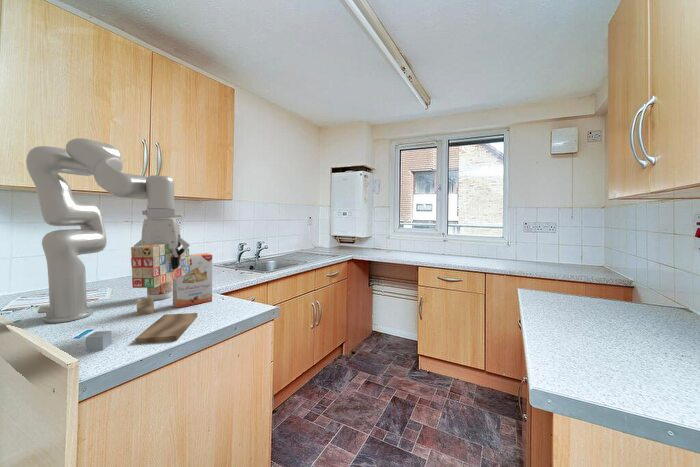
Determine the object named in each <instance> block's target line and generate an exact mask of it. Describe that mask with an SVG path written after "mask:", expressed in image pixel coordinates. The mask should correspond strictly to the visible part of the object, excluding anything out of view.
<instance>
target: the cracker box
mask: <svg viewBox="0 0 700 467" xmlns="http://www.w3.org/2000/svg"><path fill="white" fill-rule="evenodd" d="M189 257H190V273H188V274H185V275H183V276H181V277H178V278H176V279H173V280H172V306H174V307H175V308H176V309H178V308H185V307H189V306H194V305H199V304H205V303H210V302H212V301H213V254H211V253H207V252H206V253H193V254H190V253H189Z"/></svg>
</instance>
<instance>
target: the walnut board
mask: <svg viewBox="0 0 700 467" xmlns="http://www.w3.org/2000/svg"><path fill="white" fill-rule="evenodd" d="M197 318H198V312H189V313H170V314H168V313H167V314H163V315H162V316H161V317H159V318H158V319H157V320H156V321H155V322H154V323H153V322H152V324H151V325H150V326H148V327H147V328H146V329H144V330H143V332H141V333H140V334H139V335H138V336H136V337H135V338H134V340H135V344H147V343H160V342H177V341H178V340H179V339H180V338H181V336H182V335H183V334H184V333H185V332H186V331H187V330H188V328H189V327H190V326H191V325H192V324H193V323H194V321H195V320H196V319H197Z"/></svg>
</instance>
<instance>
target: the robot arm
mask: <svg viewBox="0 0 700 467" xmlns="http://www.w3.org/2000/svg"><path fill="white" fill-rule="evenodd" d="M121 158H122V157H121V153H120V151H119V150H118V148H116V147H115V146H114V145H111V144H109V143H106V142H102V141H96V140H92V139H88V138H79V137H77V138H73V139H70V140H69V141H68V142H67V143H66V144H65V148H61V147H56V146H50V145H49V146H48V145H47V146H46V145H45V146H43V145H40V146H39V145H38V146H35V147H33V148H31V149H30V150H29V151H28V153H27V155H26V158H25V160H26V161H25V163H26V168H27V172H28V174H29V176H30V178H31V180H32V182H33V184H34V186H35V188H36V193H37V197H38V202H39V206H40V212H41V216H42V218H43V221H44V222H45V224H47V225H48V226H53V227H80V228H71V229H70V228H68V229H57V230H52V231H49V232H47V233H46V234H44V236H43V237H42V241H41V245H42V246H41V247H42V250H43V253H44V255H45V259H46V260H45V261H46V266H47V280H48V282H47V283H48V297H49V298H48V299H49V300H48V302H49V305H43V306H42V305H41V306H40V307H39V309H37V313H38V314H46V315H45V316H44V317H43V321H44V322H45V323H49V324H50V323H51V324H52V323H53V324H55V323H67V322H70V321H71V322H72V321H77V320H79V319H83V318H86V317H89V316H90V315H92V314H93V313H94V309H93V308H91V307H88V302H87V301H88V299H87V298H88V297H87V295H88V294H87V276H86V275H87V274H86V273H87V272H86V266H85V264H84V262H83V261H82V260H81V259H80V258H79V257H78V256H81V255H90V254H96V253H100V252H102V251H104V250H105V248H106V246H107V240H108V239H107V234H106V228H105V224H104V220H103V215H102V212H101V209H100V208H99V206H98V205H96V203H94V202H92V201H88V200H80V199H79V200H78V199H75V198H74V196H73V192H72V188H71V185H70V184H69V183H68V182H67V181H66V180H65V179H64V178H63V177H62V176H61V175H60V174H69V175H75V176H84V177H89V176H90V177H91V176H93V177H94V181H95V182H96V184H97V185H98V186H99V187H100V188H101V189H103V190H104V191H106V192H107V193H109V194H111V195H113V196H115V197H118V198H123V199H139V200H146V209H145V210H142V212H141V213H142V215H143V216H145V217H146V218H144V219H143V222H142V223H143V224H142V229H141V238H140V240H139V241H137V243H135V244H134V245H133V247H134V246H140V245H146V244H168V249H169V250H171V252H172V253H173V255H174V257H173V258H172V269H177V268H178V266H180V256H181V254H182V253H183V252H184V251H185V250H186V249H187V248H189V247H190V246H191V245H190V243H188V242H187V241H186V240H185V239H183V238H182V237H181V236H182V235H181V230H180V225H179V221H178V218H176V209H175V206H176V204H175V202H176V201H175V182H174V179H173V178H172V177H170V176H166V175H159V174H157V175H155V174H154V175H153V174H152V175H148V176H144V175H138V174H133V173H125V172H122V171H123V168H124V166H123V162H122V160H121ZM59 173H60V174H59ZM181 246H182V247H181ZM178 248H181V249H180V250H179V249H178Z"/></svg>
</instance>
